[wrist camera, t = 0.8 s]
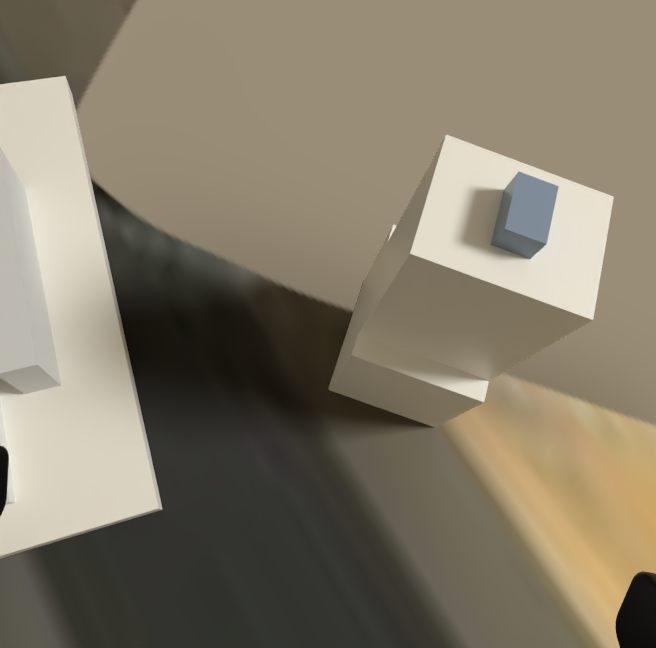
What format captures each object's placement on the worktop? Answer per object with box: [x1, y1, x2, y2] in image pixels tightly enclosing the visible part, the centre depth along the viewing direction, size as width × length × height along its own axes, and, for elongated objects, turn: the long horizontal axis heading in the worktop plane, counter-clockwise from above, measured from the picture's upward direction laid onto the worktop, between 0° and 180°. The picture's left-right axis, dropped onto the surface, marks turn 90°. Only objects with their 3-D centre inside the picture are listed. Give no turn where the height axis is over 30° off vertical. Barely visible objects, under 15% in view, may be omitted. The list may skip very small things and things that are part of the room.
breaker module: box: [328, 135, 613, 427], centre depth 19 cm, size 5×4×12 cm
